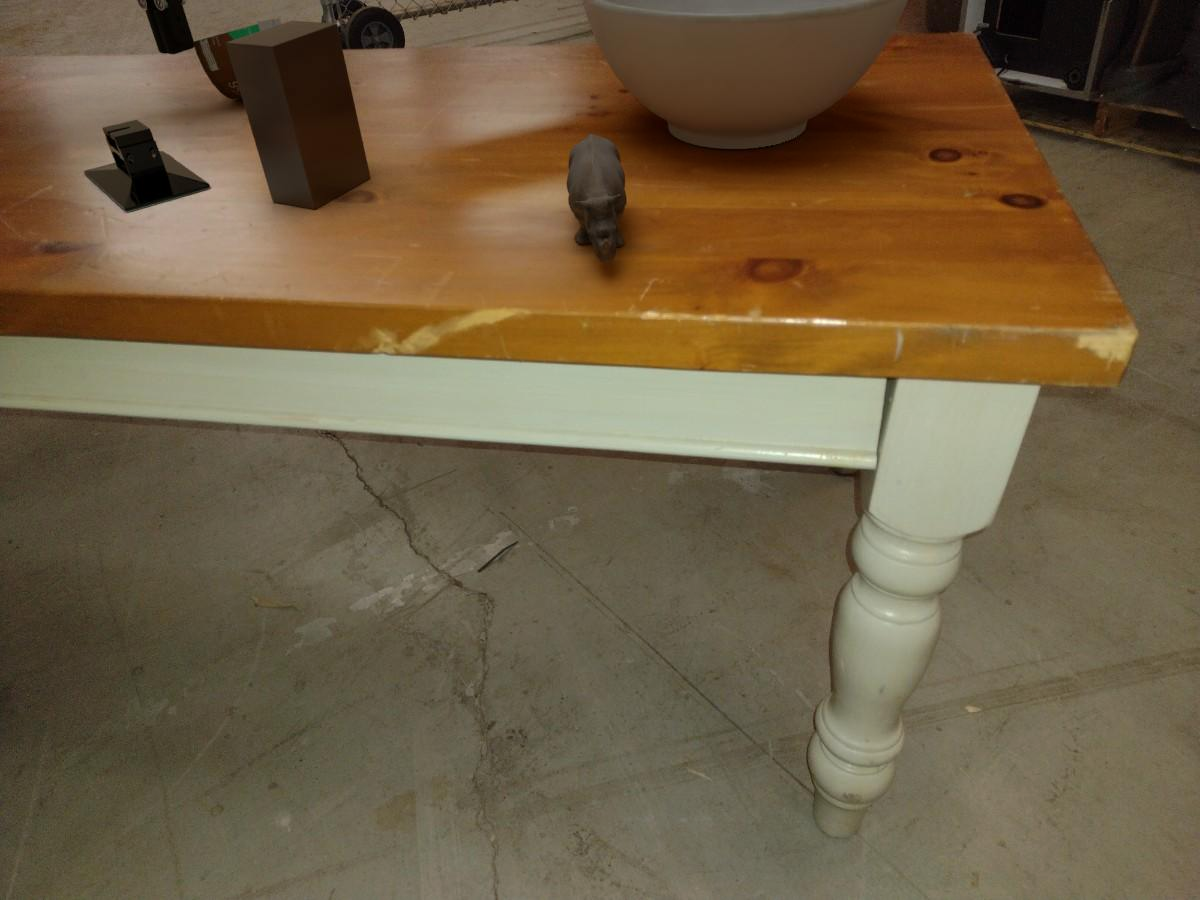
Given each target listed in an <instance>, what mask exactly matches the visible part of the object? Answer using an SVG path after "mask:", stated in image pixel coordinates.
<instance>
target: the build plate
mask: <svg viewBox="0 0 1200 900" xmlns="http://www.w3.org/2000/svg"><path fill="white" fill-rule="evenodd" d="M101 130H102V132H103V134H104V137H105V142H106V143H107V146H108V148H109V151H110V154H111V156H112V158H113V161H114V162H112V163H108V164H105V165H104V164H103V165H100V166H97V167H93V168H89V169H85V170H83V173H84V176H86V178H87V179H89V180H90V181H91V182H92V183H93V184H94V185H95V186H96V187H98V189H100V190H101V192H103V193H104V194H105V195H106V196H107V197H108V198H110V200H112V201H113V202H114V203H115V204H116V205H117V206H118V207H120V209H121V210H122V211H124V212H125V213H130V212H133V211H137V210H141V209H145V208H148V207H150V206H154V205H157V204H161V203H165V202H168V201H171V200H175V199H179V198H182V197H187V196H190V195H193V194H195V193H200V192H202V191H206V190H209V189H211V185H210V183H209V182H208V181H206V180H205V179H203V178H202V177H200V176H199V175H198V174H196V173H195V172H193V170H190V169H189V168H188V167H187V166H185V165H183V164H182V163H181V162H180V161H178V160H176V158H174V157H173V156H171V155H170V154H169V153H167V152H165V151H164V150H160V149H159V147H158V144H157V141H156V140H155V138H154V135H153V132H152V130H151V128H150V127H148V126H147V125H146V124H144V123H143V122H141V121H139V120H138V119H132V120H129V121H125V122H121V123H116V124H111V125H107V126H103V127H101Z"/></svg>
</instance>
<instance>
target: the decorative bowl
mask: <svg viewBox="0 0 1200 900" xmlns="http://www.w3.org/2000/svg"><path fill="white" fill-rule="evenodd" d="M581 1H582V5H583V9H584V13H585V15H586V19H587V21H588V24H589V26H590V29H591V32H592V35H593V37H594V39H595V42H596V44H597V46H598V48H599V50H600V52H601V54H602V56H603V57H604V59H605V61H606V62H607V64H608V66H609V67H610V69H611V70H612V72H613V74H614V75H615V76H616V79H618V81H619V83H621V84H622V85H623V87H624V88H625V90H627V91H628V92H629V94H630V95H631V96H632V97H633V98H634V99H636V101H637V102H639V103H640V104H641V105H642V106H643V107H644V108H646V109H647V110H649V111H650V112H652V113H653V114H654V115H656V116H658V117H659V118H661V119H662V120H665V121H666V122H667V128H668V132H669V133H670V134H671V135H672V136H673V137H675V138H676V139H678V140H680V141H681V142H684V143H687V144H690V145H693V146H698V147H703V148H710V149H719V150H750V148H751V150H752V149H759V147H761V148H767V147H766V146H768V147H772V146H771V145H773V146H777V145H781V144H783V143H782V142H784V143H786V142H785V141H787V142H789V141H788V140H790V141H792V140H794V139H796V138H797V136H798V135H799V136H801V135H802V134H803V133H804V132H805V130H806V127H807V124H808V120H810V119H812V118H814V117H816V116H818V115H819V114H821V113H823V112H824V111H826V110H827V109H829V108H830V107H832V106H834V104H836V103H837V102H838V101H839V100H841V99H842V98H843V97H844V96H845V95H846V94H848V93H849V92H850V91H851V90H852V89H853V88H854V87H855V86H856V85H857V84H858V82H859V81H860V80H861V79H862V78H863V77H864V76H865V75H866V73H868V71H869V70H870V68H871V67H872V66H873V64H875V62H876V60H877V59H878V58H879V56H880V54H881V53H882V51H883V50H884V48H885V47H886V45H887V44H888V42H889V40H890V38H891V37H892V35H893V33H894V31H895V30H896V27H897V25H898V23H899V21H900V19H901V17H902V15H903V13H904V11H905V8H906V6H907V4H908V1H909V0H581ZM803 131H804V132H803ZM802 132H803V133H802ZM801 133H802V134H801ZM800 134H801V135H800ZM799 136H798V137H799ZM795 137H796V138H795ZM793 138H794V139H793ZM791 139H792V140H791ZM780 143H781V144H780ZM776 144H777V145H776Z"/></svg>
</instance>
